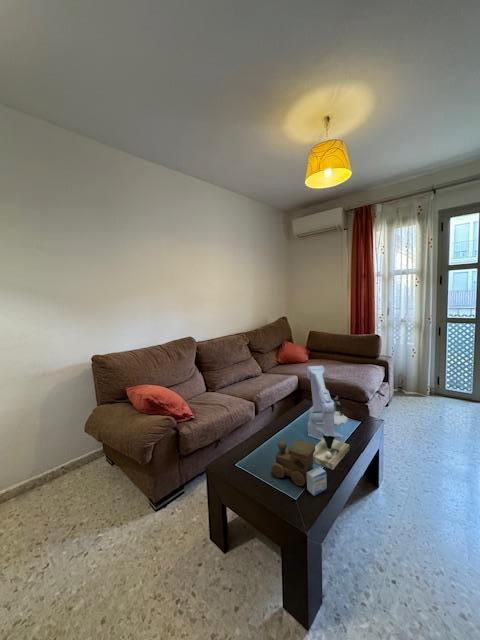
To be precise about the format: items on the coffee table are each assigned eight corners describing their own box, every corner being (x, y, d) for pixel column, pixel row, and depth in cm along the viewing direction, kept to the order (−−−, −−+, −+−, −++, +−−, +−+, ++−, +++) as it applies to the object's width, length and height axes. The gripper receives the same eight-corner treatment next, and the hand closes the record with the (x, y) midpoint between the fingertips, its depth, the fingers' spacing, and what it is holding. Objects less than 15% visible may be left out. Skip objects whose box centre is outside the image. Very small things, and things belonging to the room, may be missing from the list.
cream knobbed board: (307, 459, 137) (307, 453, 136) (325, 441, 153) (325, 436, 152) (332, 470, 127) (332, 464, 127) (349, 449, 143) (349, 444, 143)
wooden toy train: (317, 476, 123) (316, 443, 122) (308, 491, 114) (307, 456, 113) (279, 463, 135) (278, 432, 134) (269, 475, 126) (267, 443, 124)
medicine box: (313, 496, 111) (313, 477, 110) (306, 490, 115) (306, 471, 114) (327, 489, 115) (326, 471, 114) (319, 483, 119) (319, 465, 118)
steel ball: (330, 455, 138) (332, 451, 137) (332, 452, 140) (334, 448, 139) (335, 459, 136) (337, 454, 135) (337, 456, 138) (339, 451, 137)
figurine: (313, 417, 182) (314, 395, 180) (326, 409, 195) (327, 388, 192) (340, 428, 168) (342, 405, 166) (352, 419, 180) (354, 397, 178)
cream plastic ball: (324, 457, 132) (324, 452, 132) (326, 454, 135) (326, 449, 134) (330, 459, 130) (329, 454, 130) (332, 457, 133) (332, 451, 132)
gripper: (312, 422, 140) (313, 446, 141) (339, 431, 130) (339, 456, 131) (318, 418, 145) (319, 440, 146) (344, 425, 135) (345, 450, 136)
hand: (329, 447), depth 139 cm, fingers closed
